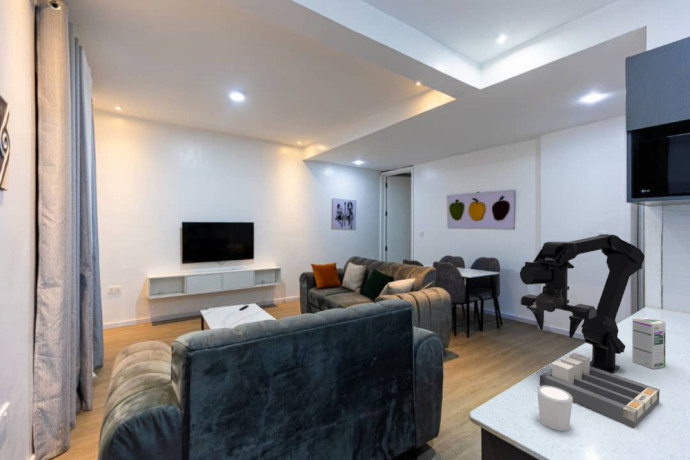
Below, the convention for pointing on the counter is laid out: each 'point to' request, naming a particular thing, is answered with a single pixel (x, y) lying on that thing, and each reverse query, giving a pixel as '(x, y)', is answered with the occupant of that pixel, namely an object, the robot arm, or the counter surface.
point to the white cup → (554, 407)
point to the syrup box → (648, 342)
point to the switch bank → (609, 395)
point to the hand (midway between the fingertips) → (555, 333)
